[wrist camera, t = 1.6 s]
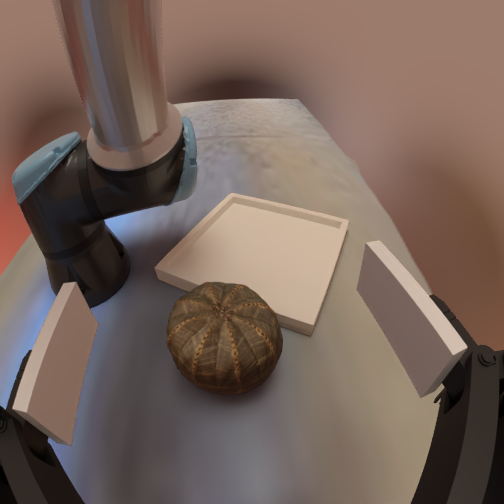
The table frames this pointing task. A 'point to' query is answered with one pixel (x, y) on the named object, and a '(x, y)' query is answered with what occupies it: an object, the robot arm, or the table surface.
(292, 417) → the table surface
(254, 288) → the tray
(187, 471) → the table surface
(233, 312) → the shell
